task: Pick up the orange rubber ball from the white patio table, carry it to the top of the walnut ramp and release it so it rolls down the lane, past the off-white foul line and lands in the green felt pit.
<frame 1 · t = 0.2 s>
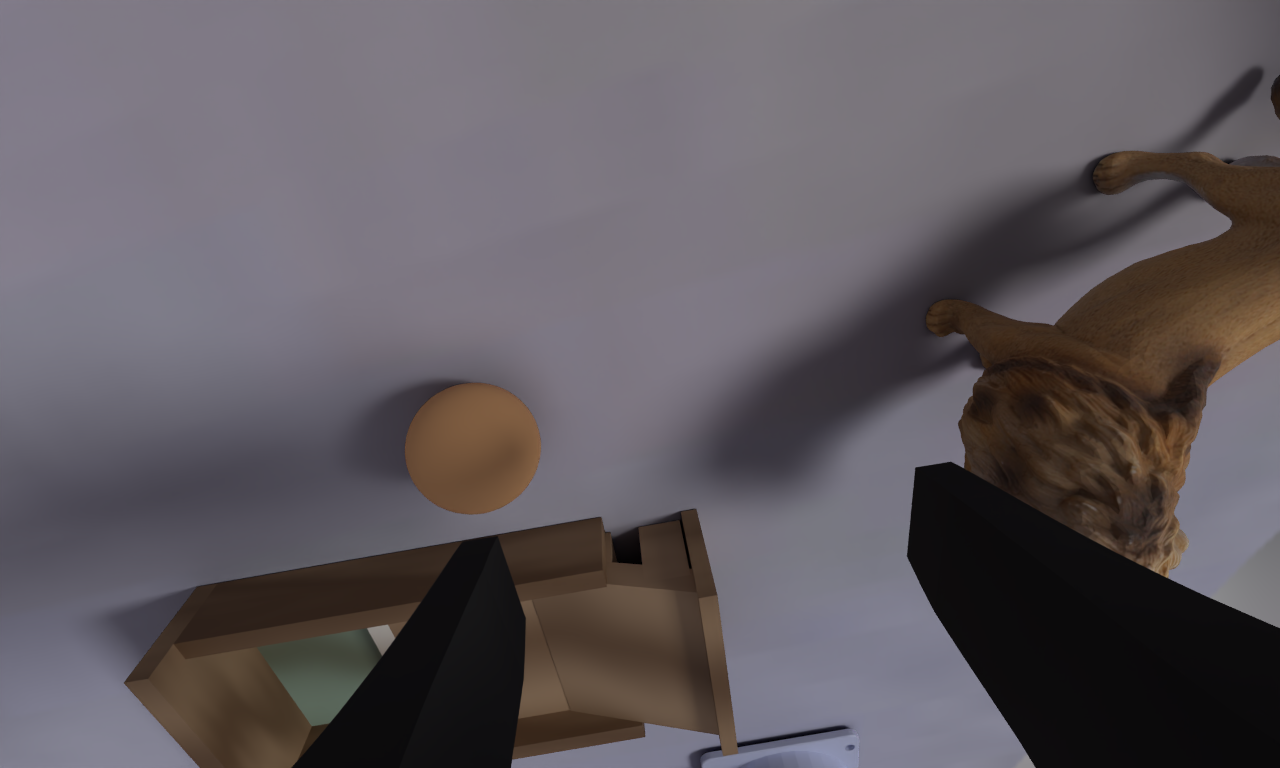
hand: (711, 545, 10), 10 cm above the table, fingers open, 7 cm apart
lane: (480, 629, 25), on the table
ball: (474, 447, 18), point 2 cm above the table
lion figurine: (1045, 283, 19), on the table
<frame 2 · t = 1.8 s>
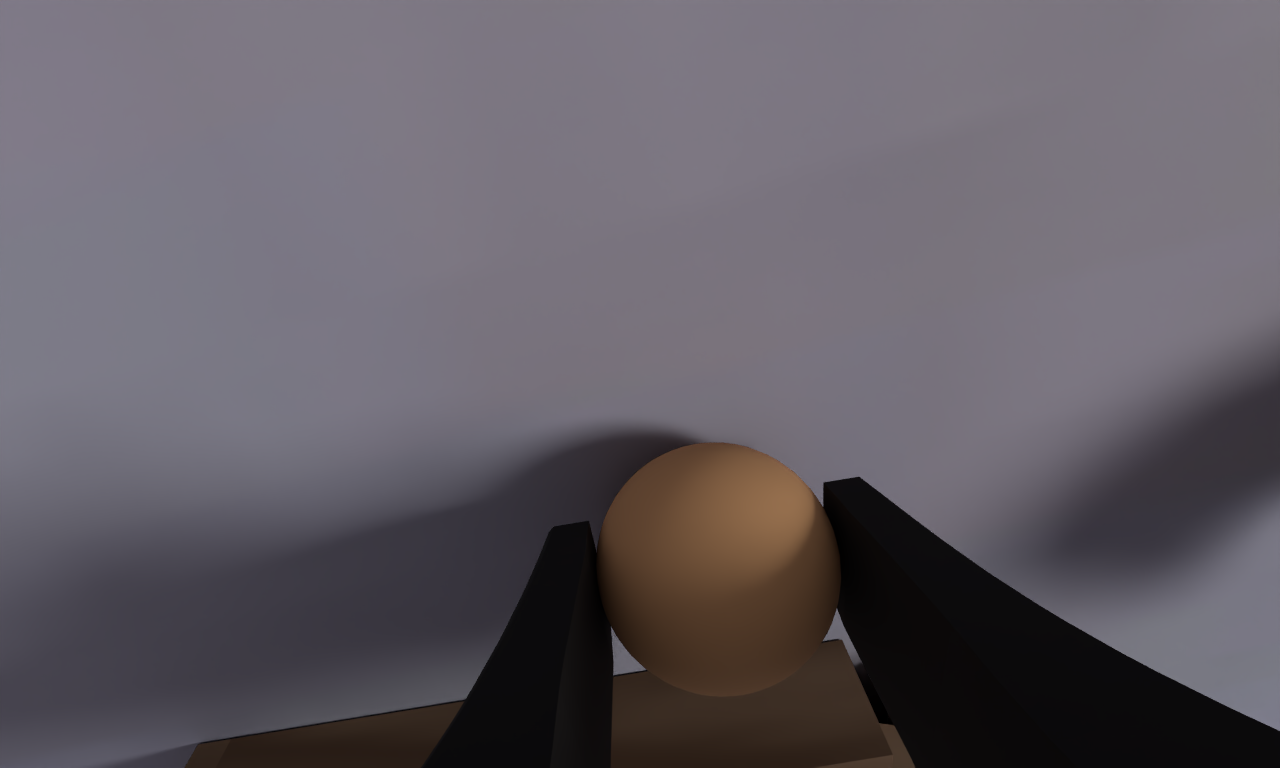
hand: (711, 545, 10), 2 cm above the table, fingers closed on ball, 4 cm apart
ball: (715, 562, 10), point 2 cm above the table, touching gripper
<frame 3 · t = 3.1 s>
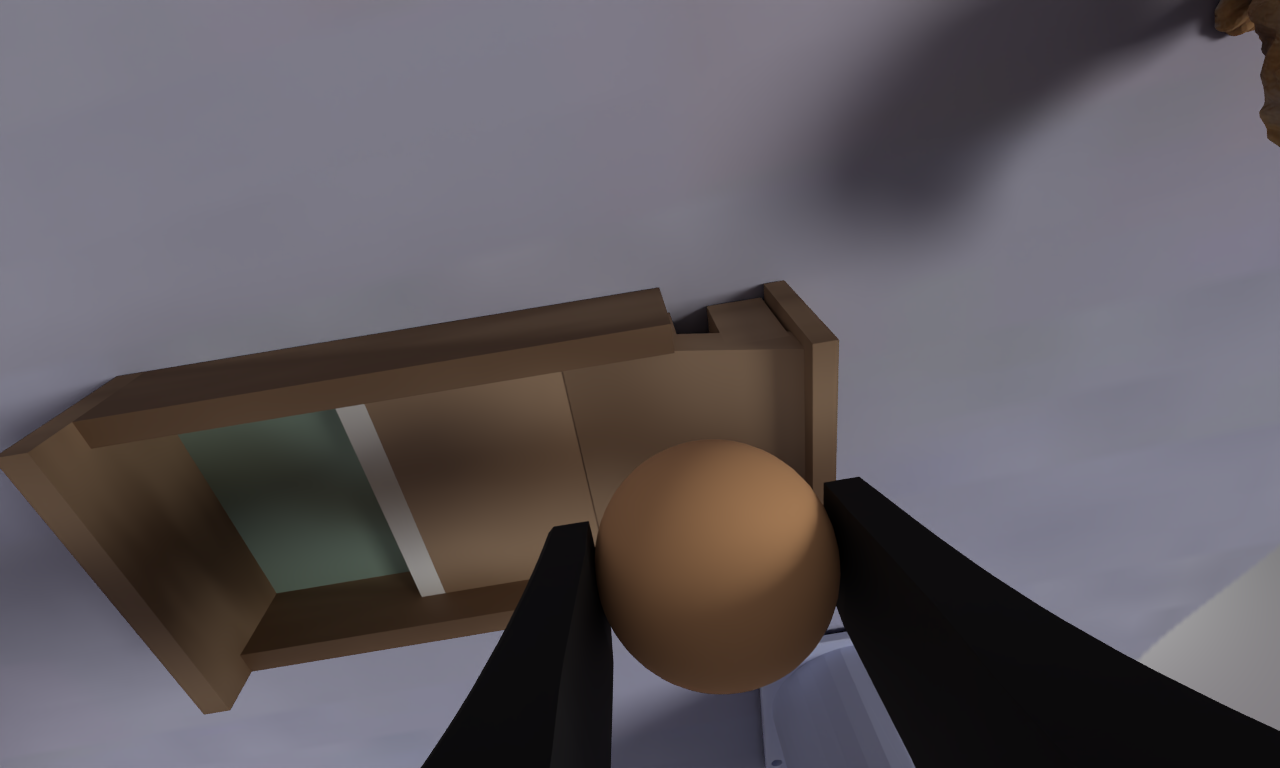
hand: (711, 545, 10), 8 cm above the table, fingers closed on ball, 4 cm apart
lane: (494, 457, 19), on the table
ball: (714, 559, 10), point 9 cm above the table, touching gripper
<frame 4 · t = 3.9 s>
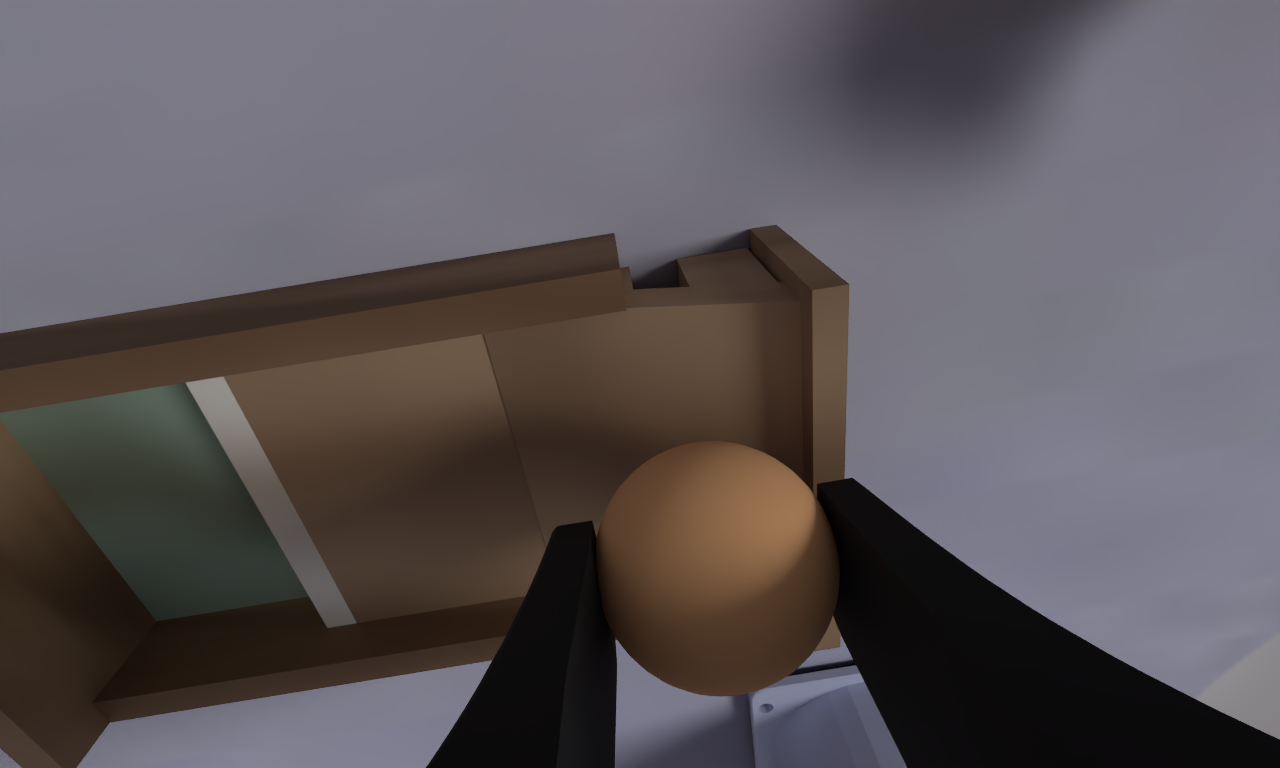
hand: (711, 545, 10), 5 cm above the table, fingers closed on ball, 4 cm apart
lane: (415, 454, 15), on the table
ball: (713, 561, 10), point 6 cm above the table, touching gripper
when the fingers open (5 cm above the table, at t = 4.2 s): ball drops 1 cm and tips over, resting on lane.
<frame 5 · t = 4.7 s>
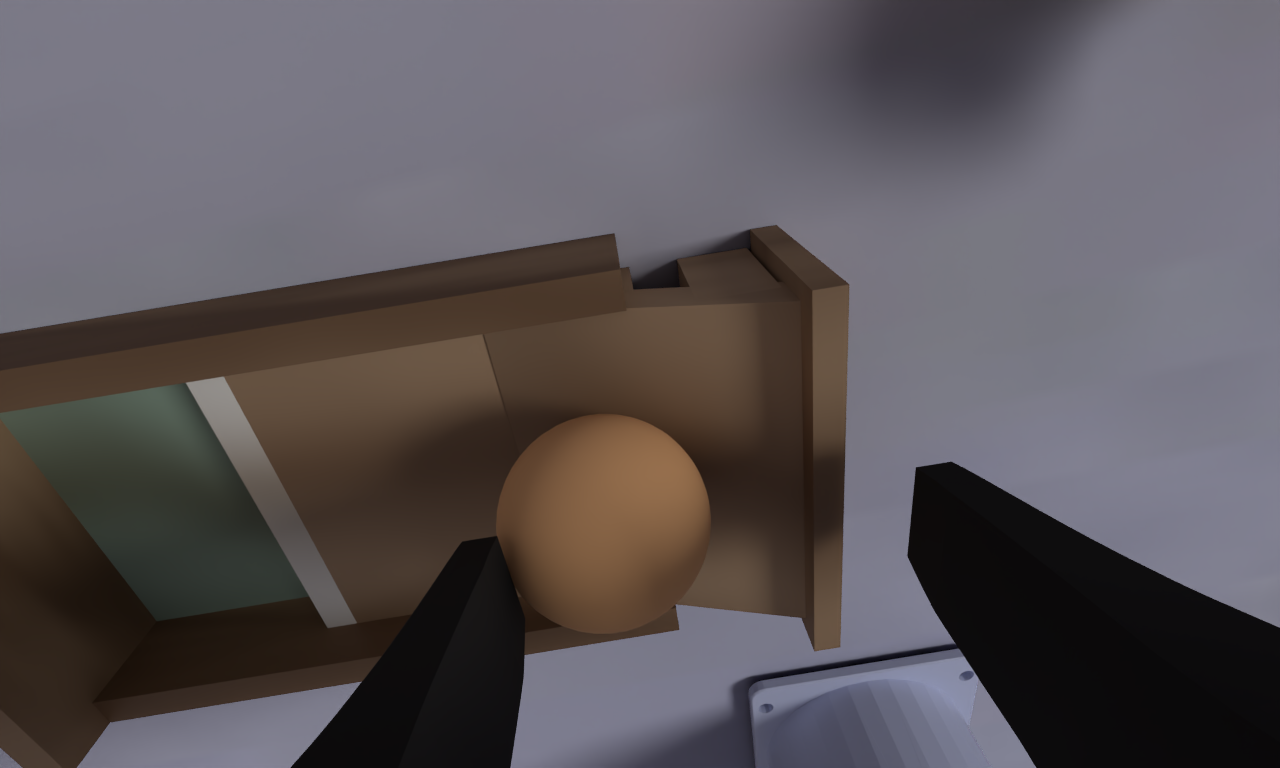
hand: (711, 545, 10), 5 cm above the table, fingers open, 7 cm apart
lane: (415, 454, 15), on the table
ball: (604, 519, 11), point 4 cm above the table, tilted 55°, touching gripper, lane
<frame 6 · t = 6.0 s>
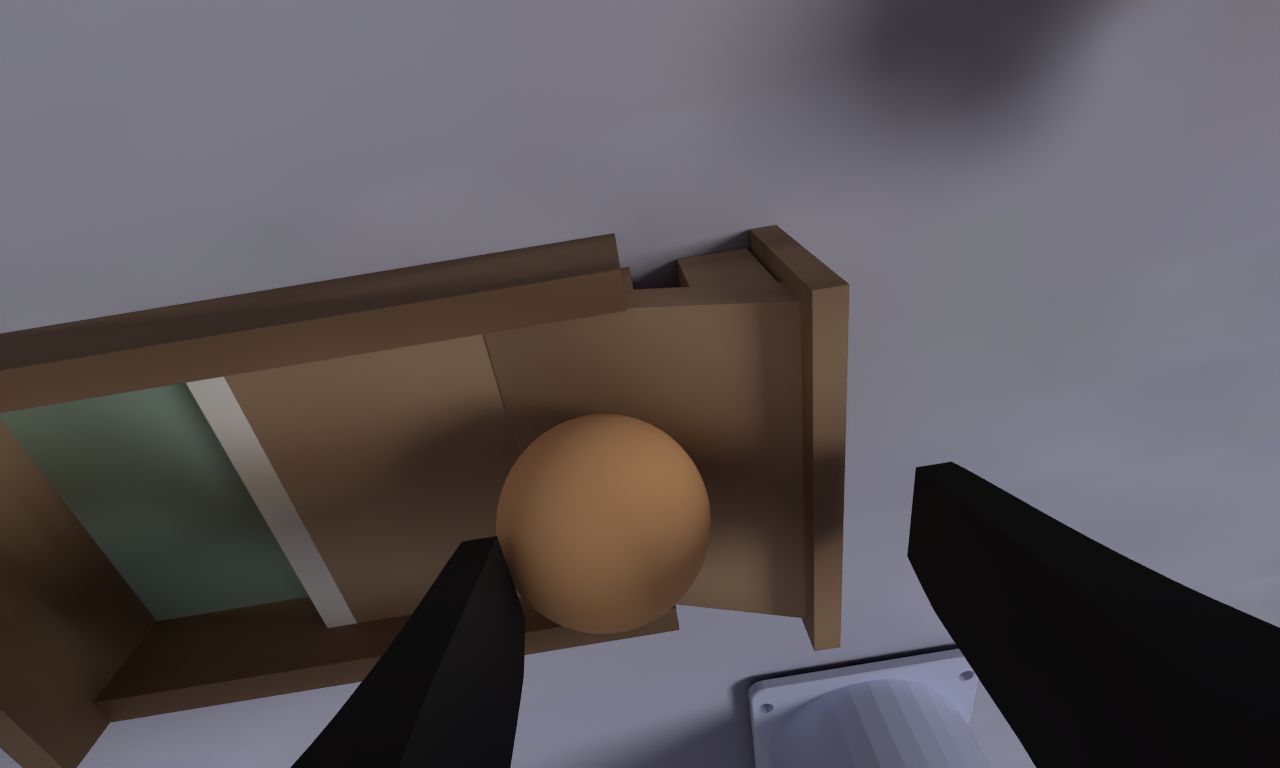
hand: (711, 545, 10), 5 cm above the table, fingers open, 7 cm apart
lane: (415, 454, 15), on the table
ball: (604, 519, 11), point 4 cm above the table, tilted 55°, touching gripper, lane
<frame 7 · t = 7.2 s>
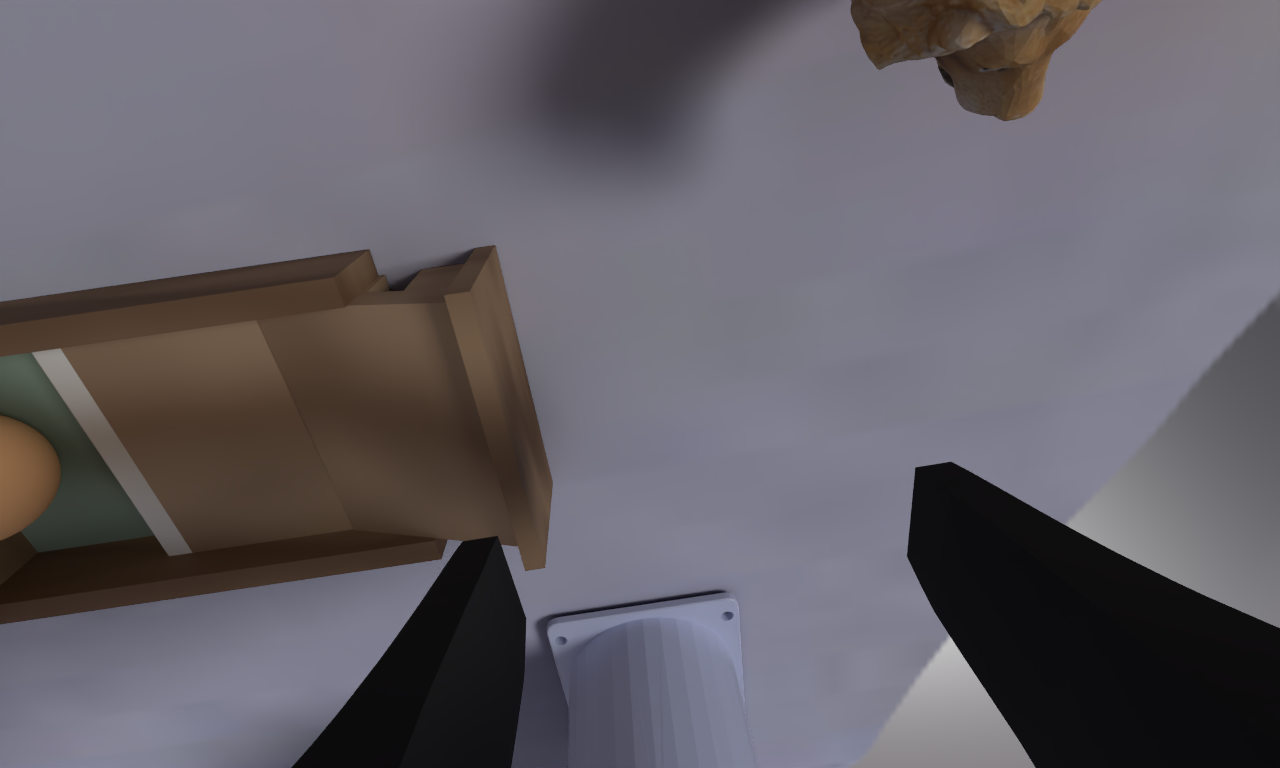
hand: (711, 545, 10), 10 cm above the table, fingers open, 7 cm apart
lane: (237, 418, 19), on the table
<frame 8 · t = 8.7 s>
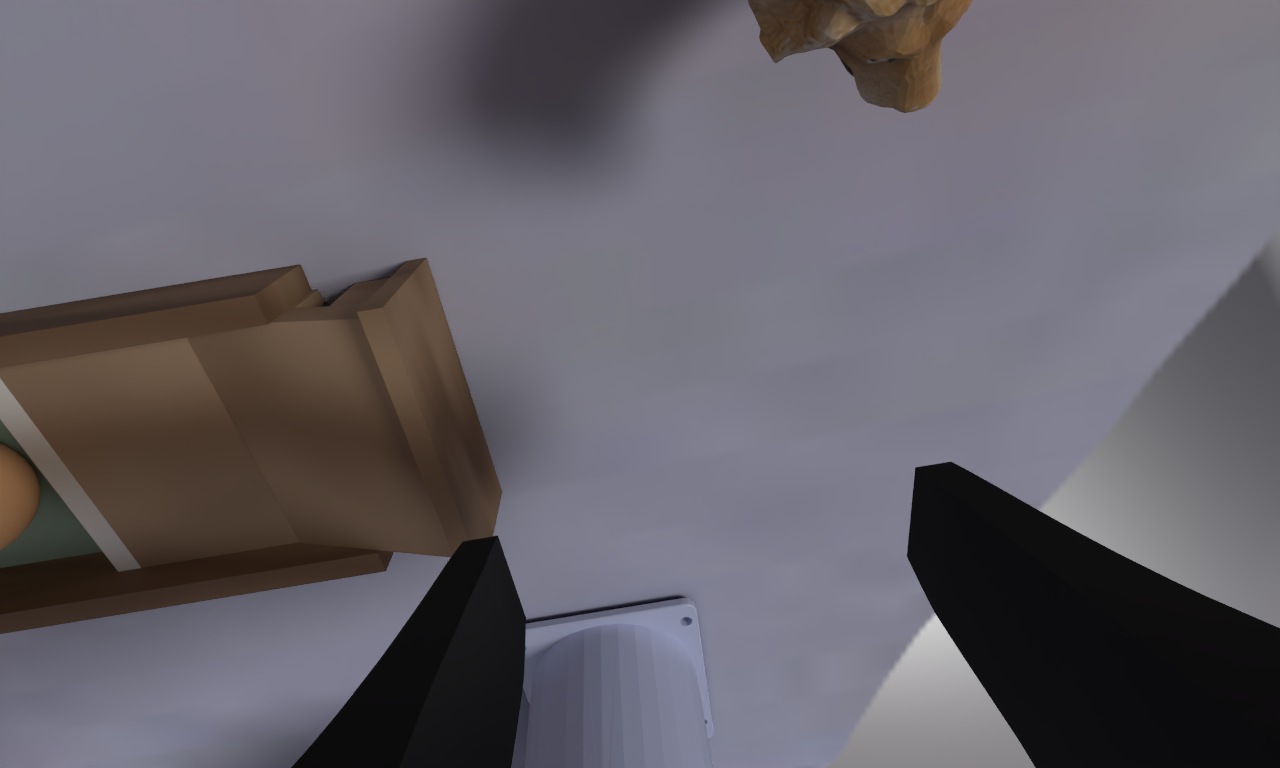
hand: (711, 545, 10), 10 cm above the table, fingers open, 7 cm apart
lane: (181, 434, 19), on the table
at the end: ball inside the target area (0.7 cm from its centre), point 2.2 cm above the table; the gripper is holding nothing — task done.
